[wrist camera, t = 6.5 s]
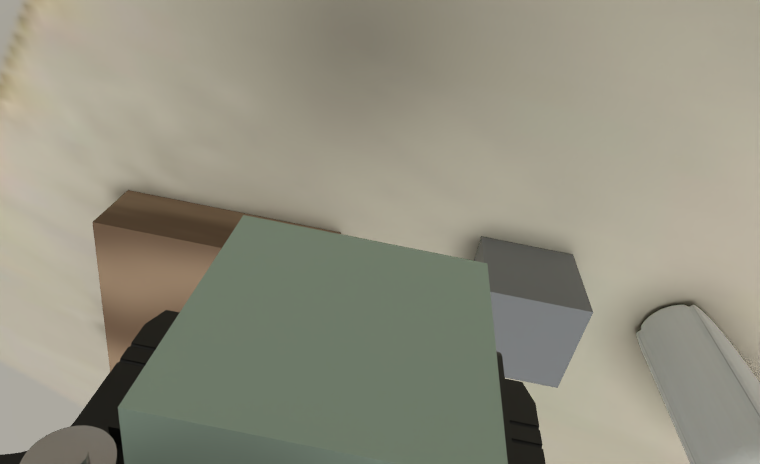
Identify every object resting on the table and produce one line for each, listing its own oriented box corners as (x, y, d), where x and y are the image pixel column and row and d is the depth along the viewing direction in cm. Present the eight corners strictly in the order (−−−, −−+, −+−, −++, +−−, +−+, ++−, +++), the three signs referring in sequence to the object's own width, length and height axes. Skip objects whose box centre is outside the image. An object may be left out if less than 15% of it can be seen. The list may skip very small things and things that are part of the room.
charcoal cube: (481, 235, 30) (486, 290, 26) (572, 253, 30) (593, 312, 26) (459, 307, 33) (460, 368, 28) (543, 324, 33) (557, 387, 28)
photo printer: (775, 399, 34) (924, 628, 23) (704, 427, 35) (813, 651, 25) (694, 287, 30) (826, 495, 20) (621, 324, 32) (706, 533, 21)
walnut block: (131, 187, 31) (92, 222, 28) (342, 229, 31) (328, 269, 28) (143, 344, 38) (112, 389, 34) (318, 380, 37) (305, 428, 34)
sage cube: (243, 215, 11) (117, 406, 7) (487, 263, 11) (510, 486, 7) (236, 387, 14) (140, 604, 10) (434, 427, 14) (427, 663, 10)
